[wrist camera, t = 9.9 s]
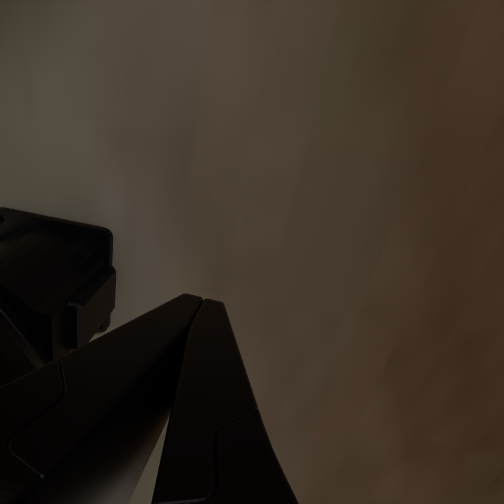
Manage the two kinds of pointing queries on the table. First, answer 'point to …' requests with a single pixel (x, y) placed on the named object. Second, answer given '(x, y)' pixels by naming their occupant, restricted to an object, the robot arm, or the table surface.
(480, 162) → the table surface
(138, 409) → the robot arm
